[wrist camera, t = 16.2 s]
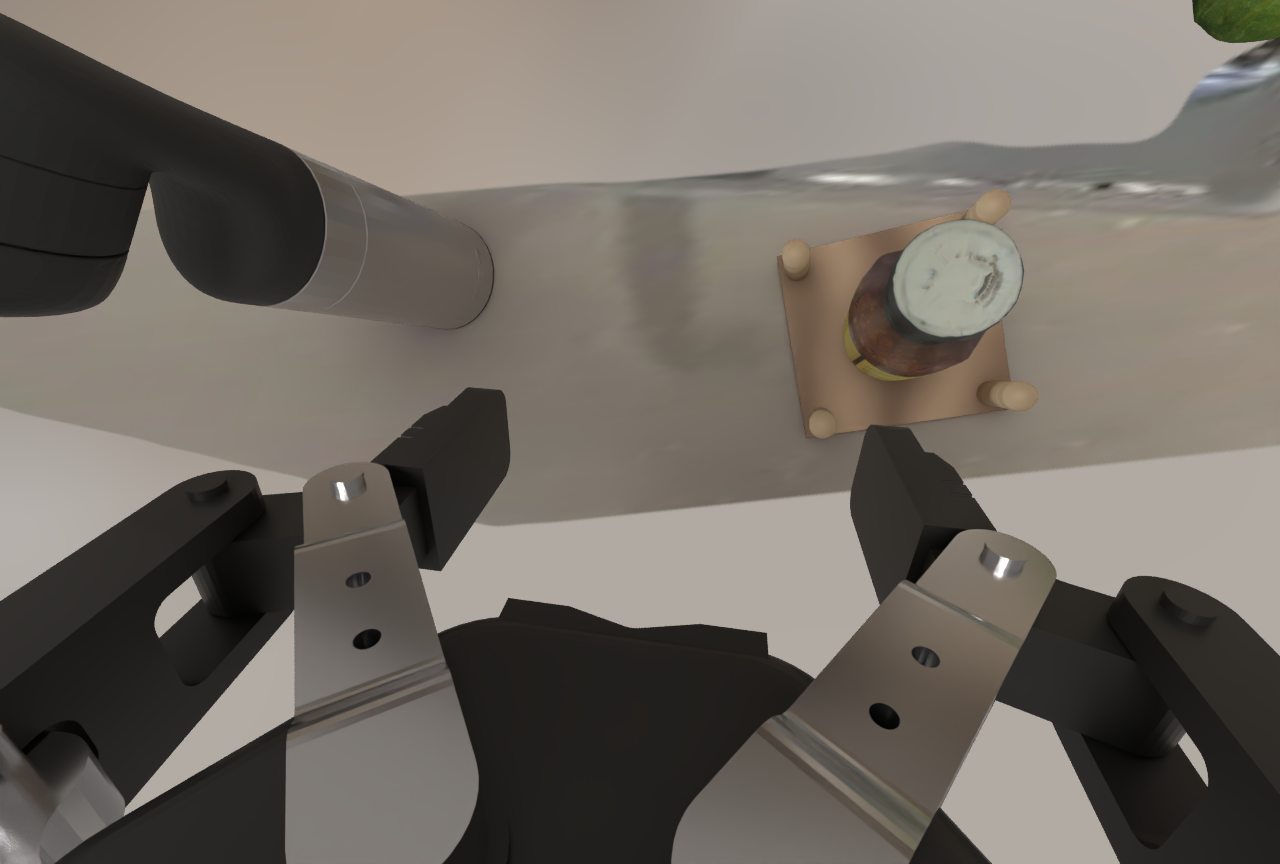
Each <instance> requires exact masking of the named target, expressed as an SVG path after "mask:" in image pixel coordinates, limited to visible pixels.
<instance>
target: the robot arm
mask: <svg viewBox="0 0 1280 864" xmlns="http://www.w3.org/2000/svg"><path fill="white" fill-rule="evenodd" d="M148 183H149V184H150V188H151V192H152V197H153V204H154V209H155V215H156V221H157V225H158V229H159V233H160V236H161V239H162V242H163V245H164V247H165V249H166V251H167V254H168V256H169V257H170V259H171V261H172V263H173V264H174V266H175V267H176V268H177V270H178V271H179V272H180V273H181V275H182V276H183V277H184V278H185V279H186V280H187V281H188V282H189V283H190V284H192V285H193V286H194V287H195V288H197V289H198V290H200V291H201V292H203V293H205V294H207V295H209V296H212V297H214V298H217V299H220V300H223V301H229V302H234V303H240V304H248V305H257V306H265V307H273V308H281V309H288V310H296V311H304V312H314V313H322V314H330V315H338V316H346V317H354V318H361V319H369V320H377V321H385V322H393V323H401V324H409V325H415V326H423V327H432V328H440V329H454V328H459V327H461V326H464V325H466V324H468V323H469V322H470V321H472V320H473V319H475V318H476V317H477V315H478V314H479V313H480V312H481V311H482V310H483V308H484V306H485V304H486V303H487V301H488V298H489V295H490V292H491V289H492V282H493V266H492V261H491V257H490V254H489V251H488V249H487V247H486V245H485V243H484V242H483V240H482V239H481V238H480V236H479V235H478V234H477V233H476V232H475V231H473V230H472V229H471V228H469V227H467V226H466V225H464V224H462V223H460V222H457V221H455V220H453V219H450V218H448V217H446V216H444V215H441V214H439V213H437V212H435V211H433V210H430V209H428V208H426V207H424V206H421V205H419V204H417V203H414V202H412V201H410V200H407V199H405V198H403V197H401V196H398V195H396V194H394V193H391V192H389V191H387V190H384V189H382V188H379V187H377V186H375V185H373V184H371V183H368V182H366V181H364V180H361V179H359V178H357V177H354V176H352V175H350V174H348V173H345V172H343V171H341V170H338V169H336V168H334V167H331V166H329V165H327V164H324V163H322V162H320V161H317V160H315V159H313V158H310V157H308V156H306V155H303V154H301V153H299V152H296V151H294V150H292V149H290V148H287V147H285V146H283V145H281V144H279V143H277V142H275V141H272V140H270V139H267V138H265V137H262V136H260V135H258V134H255V133H253V132H251V131H248V130H246V129H243V128H241V127H239V126H237V125H234V124H232V123H230V122H227V121H225V120H222V119H220V118H218V117H216V116H213V115H211V114H209V113H207V112H204V111H202V110H200V109H197V108H195V107H193V106H191V105H188V104H186V103H184V102H182V101H179V100H177V99H175V98H173V97H170V96H168V95H166V94H164V93H162V92H160V91H158V90H156V89H154V88H152V87H149V86H147V85H145V84H143V83H141V82H139V81H137V80H135V79H133V78H131V77H129V76H126V75H124V74H122V73H120V72H118V71H116V70H114V69H112V68H110V67H108V66H106V65H104V64H102V63H100V62H98V61H96V60H94V59H92V58H90V57H88V56H86V55H84V54H82V53H80V52H78V51H76V50H74V49H72V48H70V47H68V46H66V45H64V44H62V43H60V42H58V41H56V40H54V39H52V38H50V37H48V36H46V35H44V34H42V33H40V32H38V31H36V30H34V29H32V28H30V27H28V26H26V25H24V24H22V23H20V22H18V21H16V20H14V19H12V18H10V17H7V16H5V15H3V14H1V13H0V317H40V316H52V315H62V314H68V313H73V312H79V311H82V310H85V309H88V308H91V307H94V306H96V305H98V304H100V303H101V302H103V301H104V300H105V299H106V298H107V297H108V296H109V295H110V293H111V292H112V290H113V289H114V287H115V286H116V284H117V282H118V280H119V278H120V276H121V274H122V271H123V269H124V266H125V263H126V260H127V255H128V252H129V248H130V245H131V242H132V238H133V235H134V231H135V228H136V224H137V221H138V217H139V214H140V210H141V207H142V203H143V200H144V196H145V193H146V190H147V186H148ZM509 463H510V442H509V431H508V420H507V409H506V400H505V396H504V393H503V392H502V391H501V390H494V389H483V388H472V387H468V388H466V389H465V390H464V391H463V392H462V393H461V394H460V395H459V396H458V397H456V398H455V399H454V400H453V401H452V402H451V403H450V404H449V405H448V406H442V407H440V408H438V409H436V410H433V411H431V412H429V413H427V414H425V415H423V416H422V417H421V418H420V419H419V420H418V421H416V422H415V423H414V424H413V425H412V427H411V428H409V429H407V430H406V431H405V432H404V433H403V434H402V435H401V438H399V437H398V438H397V439H396V440H395V441H394V442H393V443H391V444H390V445H389V446H388V447H387V448H386V449H385V450H384V451H382V452H381V453H380V454H379V455H378V456H377V457H376V458H374V459H373V460H372V461H371V462H353V463H346V464H341V465H337V466H334V467H331V468H328V469H326V470H324V471H322V472H320V473H318V474H316V475H315V476H313V477H312V478H311V479H309V480H308V481H307V483H306V484H305V485H304V487H303V492H298V493H284V494H273V495H262V493H261V491H260V488H259V485H258V482H257V479H256V477H255V476H254V475H253V474H251V473H249V472H246V471H240V470H226V471H217V472H212V473H207V474H203V475H200V476H197V477H194V478H191V479H188V480H186V481H184V482H182V483H179V484H178V485H176V486H174V487H172V488H171V489H169V490H168V491H166V492H165V493H163V494H162V495H160V496H159V497H157V498H155V499H154V500H152V501H151V502H150V503H148V504H147V505H145V506H144V507H142V508H140V509H139V510H138V511H136V512H134V513H133V514H131V515H130V516H128V517H127V518H125V519H124V520H122V521H121V522H119V523H118V524H116V525H115V526H113V527H112V528H110V529H109V530H107V531H106V532H104V533H103V534H101V535H100V536H98V537H97V538H95V539H94V540H92V541H91V542H89V543H88V544H86V545H85V546H83V547H82V548H80V549H79V550H77V551H76V552H74V553H72V554H71V555H70V556H68V557H66V558H65V559H63V560H62V561H60V562H59V563H57V564H56V565H54V566H53V567H51V568H50V569H49V570H47V571H46V572H44V573H43V574H41V575H39V576H38V577H36V578H35V579H33V580H32V581H30V582H29V583H27V584H26V585H24V586H23V587H21V588H20V589H18V590H17V591H15V592H14V593H12V594H11V595H9V596H7V597H6V598H4V599H3V600H2V601H0V864H992V863H991V862H990V861H989V860H988V859H987V858H986V857H985V856H984V855H983V853H982V852H981V851H980V850H979V849H978V848H977V847H976V846H975V845H974V844H973V843H972V842H971V841H970V839H969V838H968V837H967V836H966V835H965V834H964V833H963V832H962V831H961V830H960V829H959V828H958V827H957V825H956V824H955V823H954V822H953V821H952V820H951V819H950V818H949V817H948V816H947V815H946V814H945V812H944V811H943V810H942V809H941V806H942V804H943V802H944V800H945V798H946V796H947V794H948V792H949V790H950V788H951V786H952V784H953V782H954V780H955V778H956V776H957V774H958V772H959V770H960V768H961V767H962V765H963V762H964V760H965V759H966V757H967V755H968V753H969V751H970V749H971V747H972V745H973V743H974V741H975V739H976V737H977V735H978V733H979V731H980V729H981V727H982V725H983V723H984V721H985V719H986V717H987V716H988V714H989V712H990V710H991V708H992V706H993V704H994V702H995V700H996V701H999V702H1002V703H1004V704H1007V705H1010V706H1012V707H1014V708H1017V709H1020V710H1022V711H1025V712H1028V713H1030V714H1033V715H1035V716H1038V717H1040V718H1043V719H1046V720H1048V721H1051V722H1052V723H1053V725H1054V728H1055V730H1056V732H1057V734H1058V736H1059V738H1060V740H1061V742H1062V744H1063V747H1064V749H1065V751H1066V753H1067V755H1068V757H1069V759H1070V761H1071V763H1072V765H1073V767H1074V769H1075V771H1076V773H1077V776H1078V778H1079V780H1080V782H1081V784H1082V786H1083V788H1084V790H1085V792H1086V794H1087V796H1088V798H1089V800H1090V802H1091V804H1092V806H1093V809H1094V811H1095V813H1096V815H1097V817H1098V819H1099V821H1100V823H1101V825H1102V827H1103V829H1104V831H1105V833H1106V835H1107V837H1108V839H1109V842H1110V843H1111V846H1112V848H1113V850H1114V852H1115V854H1116V856H1117V858H1118V860H1119V862H1120V864H1280V656H1279V655H1278V654H1277V653H1276V652H1275V651H1274V650H1273V649H1272V648H1271V647H1270V646H1269V645H1268V644H1267V643H1266V642H1265V641H1264V640H1263V639H1262V638H1261V637H1260V636H1259V635H1258V634H1257V633H1256V632H1255V631H1254V630H1253V629H1252V628H1251V627H1250V626H1249V625H1248V624H1247V623H1246V622H1245V621H1244V620H1243V619H1242V618H1241V617H1240V616H1239V615H1238V614H1237V613H1236V612H1234V611H1233V610H1232V609H1230V608H1229V607H1227V606H1226V605H1224V604H1223V603H1221V602H1220V601H1218V600H1216V599H1215V598H1213V597H1211V596H1209V595H1207V594H1205V593H1203V592H1201V591H1199V590H1197V589H1194V588H1192V587H1190V586H1187V585H1184V584H1181V583H1179V582H1176V581H1172V580H1168V579H1164V578H1159V577H1152V576H1137V577H1132V578H1130V579H1128V580H1127V581H1125V582H1124V584H1123V586H1122V588H1121V589H1120V591H1119V593H1118V594H1117V596H1116V598H1115V597H1111V596H1108V595H1105V594H1102V593H1098V592H1095V591H1092V590H1088V589H1085V588H1082V587H1078V586H1075V585H1072V584H1068V583H1066V582H1062V581H1059V580H1057V579H1056V570H1055V568H1054V566H1053V564H1052V563H1051V561H1049V559H1048V558H1047V557H1046V556H1045V555H1044V554H1042V553H1041V552H1040V551H1039V550H1037V549H1036V548H1034V547H1033V546H1031V545H1029V544H1028V543H1026V542H1024V541H1022V540H1020V539H1017V538H1015V537H1013V536H1010V535H1007V534H1004V533H1000V532H997V531H996V529H995V528H994V526H993V525H992V523H991V522H990V521H989V519H988V517H987V516H986V514H985V513H984V512H983V510H982V509H981V507H980V506H979V504H978V503H977V501H976V500H975V498H972V494H971V492H970V491H969V489H968V488H967V487H966V485H963V481H962V479H961V478H960V476H959V475H958V473H957V472H956V470H955V469H954V467H952V466H951V465H950V464H948V463H947V462H945V461H944V460H943V459H941V458H940V457H939V456H937V455H936V454H934V453H928V452H924V450H923V449H922V447H921V446H920V444H919V442H918V441H917V439H916V438H915V436H914V434H913V433H912V431H911V430H910V429H909V428H905V427H894V426H883V425H870V426H869V427H868V429H867V431H866V433H865V437H864V441H863V445H862V449H861V453H860V457H859V461H858V465H857V469H856V473H855V477H854V481H853V485H852V489H851V497H850V498H851V499H850V509H851V516H852V519H853V523H854V526H855V529H856V532H857V535H858V538H859V541H860V544H861V548H862V551H863V554H864V557H865V560H866V563H867V566H868V569H869V572H870V576H871V579H872V582H873V585H874V588H875V591H876V595H877V597H878V601H879V604H880V606H879V607H878V608H877V609H876V610H875V611H874V613H873V614H872V615H871V616H870V617H869V618H868V619H867V621H866V622H865V623H864V624H863V625H862V626H861V628H859V630H858V631H857V632H856V633H855V634H854V635H853V636H852V638H851V639H850V640H849V641H848V642H847V643H846V644H845V646H844V647H843V648H842V649H841V650H840V651H839V652H838V653H837V655H836V656H835V657H834V658H833V659H832V660H831V661H830V663H829V664H828V665H827V666H826V667H825V668H824V669H823V671H822V672H821V673H820V674H819V675H818V676H817V678H816V679H814V678H813V677H811V676H810V675H809V674H807V673H805V672H804V671H802V670H800V669H798V668H797V667H795V666H794V665H792V664H789V663H787V662H785V661H783V660H781V659H779V658H776V657H774V656H771V655H768V645H767V633H762V632H755V631H748V630H741V629H733V628H726V627H718V626H710V625H704V624H694V625H680V626H665V627H650V628H629V627H625V626H622V625H619V624H617V623H614V622H611V621H608V620H606V619H602V618H600V617H597V616H594V615H592V614H589V613H586V612H584V611H581V610H578V609H575V608H573V607H570V606H563V605H555V604H548V603H541V602H534V601H526V600H518V599H511V598H508V600H507V602H506V604H505V606H504V608H503V610H502V612H501V614H500V616H499V617H496V618H488V619H482V620H476V621H472V622H468V623H465V624H461V625H458V626H455V627H453V628H450V629H447V630H444V631H442V632H440V633H438V634H437V631H436V627H435V624H434V620H433V617H432V613H431V610H430V606H429V603H428V599H427V596H426V592H425V589H424V585H423V582H422V578H421V575H420V571H419V568H421V569H428V570H435V571H441V570H442V569H443V567H444V566H445V564H446V563H447V561H448V560H449V559H450V557H451V556H452V554H453V553H454V551H455V550H456V548H457V547H458V545H459V544H460V542H461V541H462V540H463V538H464V537H465V535H466V534H467V532H468V531H469V529H470V528H471V526H472V525H473V523H474V522H475V520H476V519H477V518H478V516H479V515H480V513H481V512H482V510H483V509H484V507H485V506H486V504H487V503H488V501H489V500H490V498H491V497H492V496H493V494H494V493H495V491H496V490H497V488H498V487H499V485H500V484H501V482H502V481H503V479H504V478H505V476H506V474H507V471H508V468H509ZM191 576H192V577H193V580H194V582H195V584H196V586H197V588H198V591H199V593H200V595H201V597H202V599H201V600H200V601H199V602H198V603H197V604H196V605H195V606H193V607H192V608H191V609H190V610H189V611H188V612H187V613H186V614H185V615H184V616H183V617H182V618H181V619H179V620H178V621H177V622H176V623H175V624H174V625H173V626H172V627H171V628H170V629H169V630H168V631H166V632H165V633H164V634H163V635H162V636H161V637H160V638H158V636H157V634H156V631H155V627H154V621H155V616H156V613H157V610H158V608H159V606H160V605H161V603H162V602H163V601H164V600H165V598H166V597H167V596H168V595H170V594H171V593H172V592H173V591H174V590H175V589H177V588H178V587H179V586H180V585H181V584H182V583H183V582H185V581H186V580H187V579H188V578H189V577H191ZM293 610H294V618H295V619H294V622H295V623H294V624H295V627H294V628H295V630H294V634H295V715H294V717H293V718H291V719H289V720H288V721H286V722H284V723H282V724H281V725H279V726H277V727H276V728H274V729H272V730H270V731H269V732H267V733H265V734H264V735H262V736H260V737H259V738H257V739H255V740H253V741H252V742H250V743H248V744H247V745H245V746H243V747H242V748H240V749H238V750H236V751H235V752H233V753H231V754H229V755H228V756H226V757H224V758H223V759H221V760H219V761H217V762H216V763H214V764H213V765H211V766H209V767H207V768H206V769H204V770H202V771H200V772H199V773H197V774H195V775H194V776H192V777H190V778H188V779H187V780H185V781H184V782H182V783H180V784H178V785H177V786H175V787H173V788H172V789H170V790H168V791H166V792H165V793H163V794H161V795H159V796H158V797H156V798H155V799H153V800H151V801H149V802H148V803H146V804H144V805H143V806H141V807H139V808H137V809H136V810H134V811H132V812H131V813H129V814H127V815H125V816H124V812H125V807H126V806H127V805H128V804H129V803H130V802H131V800H132V799H133V798H134V797H135V796H136V795H137V793H138V792H139V791H140V790H141V789H142V787H143V786H144V785H145V784H146V783H147V782H148V780H149V779H150V778H151V777H152V776H153V775H154V774H155V772H156V771H157V770H158V769H159V768H160V766H161V765H162V764H163V763H164V762H165V761H166V759H167V758H168V757H169V756H170V755H171V754H172V752H173V751H174V750H175V749H176V747H178V745H179V744H180V743H181V742H182V741H183V740H184V738H185V737H186V736H187V735H188V734H189V733H190V731H191V730H192V729H193V728H194V727H195V726H196V724H197V723H198V722H199V721H200V720H201V719H202V717H203V716H204V715H205V714H206V713H207V711H208V710H209V709H210V708H211V707H212V706H213V704H214V703H215V702H216V701H217V700H218V699H219V697H220V696H221V695H222V694H223V693H224V692H225V690H226V689H227V688H228V687H229V686H230V685H231V683H232V682H233V681H234V680H235V678H237V676H238V675H239V674H240V673H241V672H242V671H243V669H244V668H245V667H246V666H247V665H248V663H249V662H250V661H251V660H252V659H253V658H254V656H255V655H256V654H257V653H258V652H259V651H260V649H261V648H262V647H263V646H264V645H265V644H266V642H267V641H268V640H269V639H270V638H271V637H272V635H273V634H274V633H275V632H276V631H277V630H278V628H279V627H280V626H281V625H282V624H283V622H284V621H285V620H286V619H287V618H288V617H289V615H290V614H291V613H292V611H293ZM1186 732H1187V734H1188V735H1189V736H1190V738H1191V739H1192V741H1193V742H1194V744H1195V745H1196V746H1197V748H1198V750H1199V751H1200V753H1201V755H1202V757H1203V759H1204V761H1205V764H1206V767H1207V772H1208V787H1207V786H1206V784H1205V783H1204V781H1203V780H1202V778H1201V777H1200V775H1199V774H1198V772H1197V771H1196V769H1195V768H1194V766H1193V765H1192V763H1191V762H1190V761H1189V759H1188V758H1187V756H1186V755H1185V753H1184V752H1183V751H1182V749H1181V747H1180V746H1179V744H1178V742H1179V741H1180V739H1181V738H1182V737H1183V736H1184V734H1185V733H1186Z"/></svg>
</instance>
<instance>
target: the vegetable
mask: <svg viewBox="0 0 1280 864" xmlns="http://www.w3.org/2000/svg"><path fill="white" fill-rule="evenodd" d="M1192 2H1193V14H1194V22H1196V23H1197V24H1198V25H1200V26H1201V27H1202V28H1203V29H1204V30H1205V31H1206V32H1207V33H1208V34H1209V35H1210V36H1212V37H1213V38H1215V39H1216V40H1219V41H1224V42H1229V43H1243V42H1244V43H1245V42H1254V41H1263V40H1269V39H1275V38H1280V0H1192Z"/></svg>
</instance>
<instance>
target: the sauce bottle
mask: <svg viewBox="0 0 1280 864" xmlns="http://www.w3.org/2000/svg"><path fill="white" fill-rule="evenodd" d="M1023 275H1024V268H1023V262H1022V258H1021V255H1020V253H1019V251H1018V249H1017V247H1016V245H1015V242H1014V240H1012V239H1011V238H1010V237H1009V236H1008V235H1007V234H1006V233H1005V232H1004V231H1002V230H1001V229H999V228H997V227H996V226H994V225H991V224H988V223H985V222H981V221H976V220H973V219H959V220H952V221H948V222H943V223H940V224H937V225H934V226H932V227H931V228H929V229H927V230H925V231H923V232H921V233H920V234H918V235H917V236H916V237H915V238H914V239H913V240H912V241H911V242H910V243H909V244H908V245H907V246H906V247H905V248H904V249H903V250H900V251H895V252H891V253H887V254H885V255H882V256H881V257H879V258H878V259H877V260H876V262H875V263H874V264H873V266H872V267H871V268H870V269H869V271H868V272H867V273H866V275H865V276H864V277H863V278H862V279H861V282H860V284H859V286H858V287H857V289H856V291H855V293H854V295H853V297H852V300H851V303H850V306H849V309H848V313H847V316H846V320H845V324H844V329H843V341H844V346H845V350H846V352H847V355H848V357H849V358H850V360H851V361H852V362H853V363H854V365H855V366H856V367H857V368H858V369H859V370H861V371H862V372H864V373H865V374H867V375H869V376H871V377H873V378H876V379H879V380H883V381H898V380H905V379H911V378H916V377H923V376H928V375H932V374H935V373H938V372H941V371H943V370H945V369H947V368H949V367H951V366H954V365H956V364H958V363H962V362H963V361H965V360H967V359H968V358H969V357H970V355H971V354H972V352H973V350H974V349H975V347H976V346H977V344H978V343H979V341H980V340H981V338H982V337H983V335H984V334H985V332H986V331H987V330H988V329H990V328H991V327H993V326H994V325H996V324H997V323H999V322H1000V321H1001V319H1002V318H1003V317H1005V316H1006V315H1007V314H1008V313H1009V311H1010V310H1011V309H1012V308H1013V306H1014V305H1015V304H1016V302H1017V300H1018V297H1019V294H1020V291H1021V288H1022V282H1023Z"/></svg>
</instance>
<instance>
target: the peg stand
mask: <svg viewBox="0 0 1280 864" xmlns="http://www.w3.org/2000/svg"><path fill="white" fill-rule="evenodd" d="M1010 207H1011V198H1010V196H1009V195H1008V194H1007V193H1006V192H1005V191H1002V190H991V191H989V192H987V193H985V194H984V195H983V196H982V197H981V198H980V199H979V200H978V201H977V202H976V203H975V204H974V205H973V206H972V207H971V208H970V209H969V210H967V211H963V212H959V213H955V214H951V215H946V216H942V217H938V218H934V219H930V220H926V221H922V222H917V223H913V224H909V225H905V226H901V227H897V228H893V229H888V230H884V231H880V232H876V233H872V234H868V235H864V236H859V237H855V238H851V239H847V240H843V241H839V242H835V243H831V244H826V245H822V246H818V247H814V248H810V249H809V247H808V245H807V244H806V243H805V242H804V241H803V240H800V239H794V240H791V241H789V242H788V243H786V244H785V246H784V247H783V250H782V255H781V256H777V260H778V266H779V272H780V278H781V285H782V291H783V297H784V303H785V310H786V316H787V322H788V328H789V334H790V341H791V347H792V353H793V359H794V366H795V372H796V378H797V384H798V391H799V397H800V403H801V409H802V415H803V422H804V428H805V434H806V438H809V437H818V438H828V437H830V436H832V435H833V434H837V433H844V432H852V431H859V430H866V429H868V427H869V426H870V425H883V426H894V425H901V424H908V423H915V422H922V421H929V420H936V419H943V418H950V417H957V416H964V415H971V414H978V413H985V412H992V411H999V410H1006V409H1013V410H1019V411H1023V410H1027V409H1030V408H1031V407H1033V406H1034V405H1035V403H1036V402H1037V400H1038V391H1037V389H1036V388H1035V387H1034V386H1033V385H1032V384H1030V383H1027V382H1012V381H1010V376H1009V369H1008V362H1007V355H1006V348H1005V340H1004V333H1003V326H1002V319H1001V321H1000V322H999V323H997V324H996V325H994V326H993V327H991V328H990V329H988V330H987V331H986V332H985V334H984V335H983V337H982V338H981V340H980V341H979V343H978V344H977V346H976V347H975V349H974V350H973V352H972V354H971V355H970V357H969V358H968V359H967V360H965V361H963V362H962V363H958V364H956V365H954V366H951V367H949V368H947V369H945V370H943V371H941V372H938V373H935V374H932V375H928V376H923V377H916V378H911V379H905V380H898V381H883V380H879V379H876V378H873V377H871V376H869V375H867V374H865V373H864V372H862V371H861V370H859V369H858V368H857V367H856V366H855V365H854V363H853V362H852V361H851V360H850V358H849V357H848V355H847V352H846V350H845V346H844V341H843V329H844V324H845V320H846V316H847V313H848V309H849V306H850V303H851V300H852V297H853V295H854V293H855V291H856V289H857V287H858V286H859V284H860V282H861V279H862V278H863V277H864V276H865V275H866V273H867V272H868V271H869V269H870V268H871V267H872V266H873V264H874V263H875V262H876V260H877V259H878V258H879V257H881V256H882V255H885V254H887V253H891V252H895V251H900V250H903V249H904V248H905V247H906V246H907V245H908V244H909V243H910V242H911V241H912V240H913V239H914V238H915V237H916V236H917V235H918V234H920V233H921V232H923V231H925V230H927V229H929V228H931V227H932V226H934V225H937V224H940V223H943V222H948V221H952V220H959V219H973V220H976V221H981V222H985V223H988V224H991V225H994V224H995V223H996V222H997V221H999V220H1000V219H1001V218H1002V217H1004V216H1005V215H1006V214H1007V213H1008V211H1009V210H1010Z"/></svg>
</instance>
